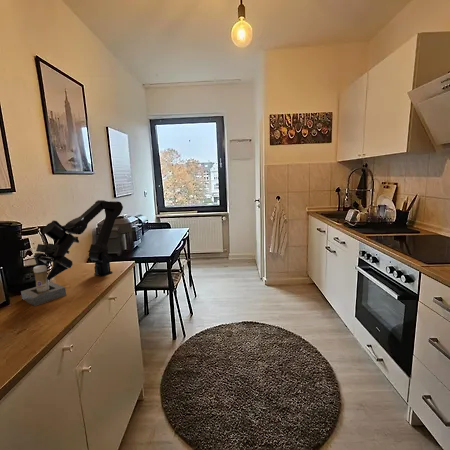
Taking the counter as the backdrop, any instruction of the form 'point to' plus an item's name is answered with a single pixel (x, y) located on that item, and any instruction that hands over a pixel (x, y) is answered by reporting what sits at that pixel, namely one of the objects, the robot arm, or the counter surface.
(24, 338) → the counter surface
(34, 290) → the block
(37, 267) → the sprinkles bottle
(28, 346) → the counter surface
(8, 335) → the counter surface
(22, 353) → the counter surface
